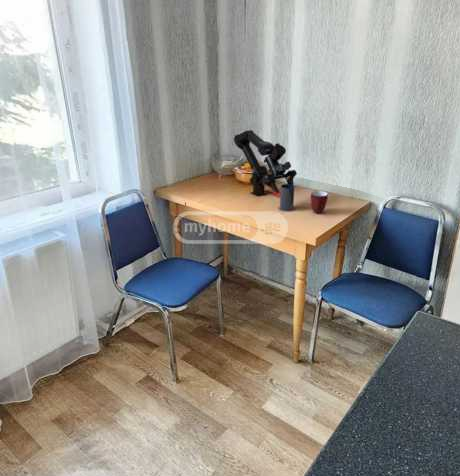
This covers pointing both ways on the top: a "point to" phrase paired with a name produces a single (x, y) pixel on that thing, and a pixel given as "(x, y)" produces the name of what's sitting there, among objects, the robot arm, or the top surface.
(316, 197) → the mug
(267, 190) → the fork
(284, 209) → the grey cylindrical cup
